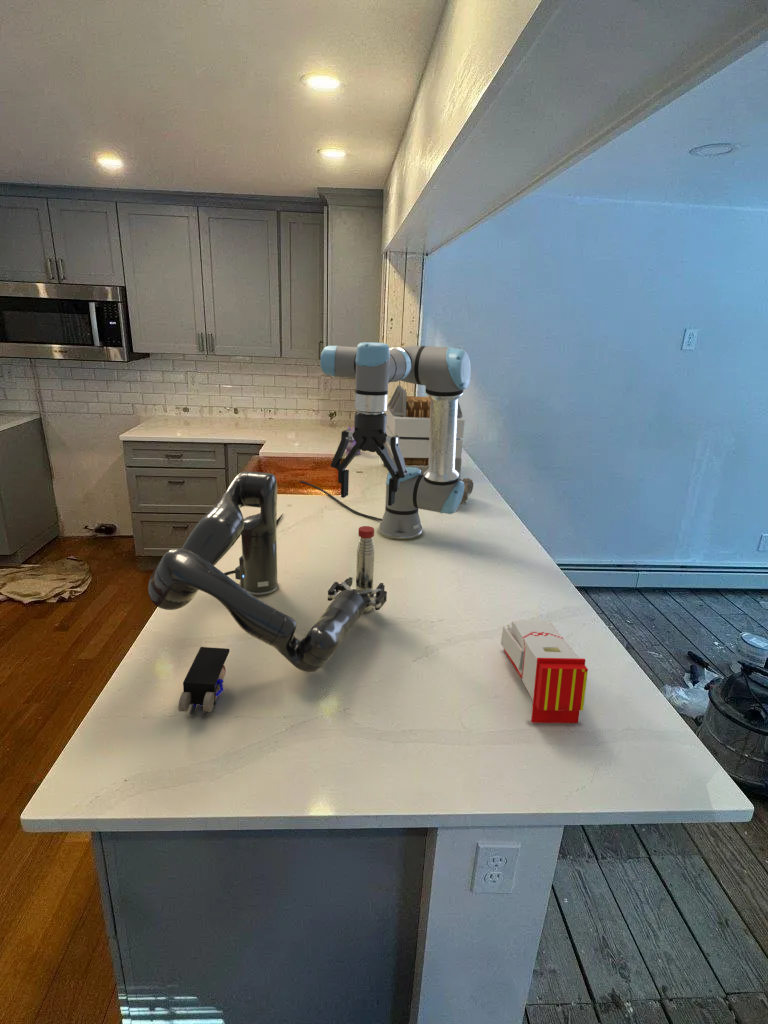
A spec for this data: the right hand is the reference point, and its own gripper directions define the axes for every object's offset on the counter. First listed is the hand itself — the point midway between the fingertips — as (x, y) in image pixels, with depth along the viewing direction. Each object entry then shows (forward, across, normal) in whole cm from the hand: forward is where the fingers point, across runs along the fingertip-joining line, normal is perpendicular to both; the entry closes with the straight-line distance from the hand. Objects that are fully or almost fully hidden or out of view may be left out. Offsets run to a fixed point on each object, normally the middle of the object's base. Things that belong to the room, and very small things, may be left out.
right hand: (367, 500), depth 139 cm
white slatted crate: (+30, +27, -132) cm, 138 cm away
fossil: (+30, 0, -97) cm, 101 cm away
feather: (+30, +54, -49) cm, 79 cm away
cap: (+8, 0, 0) cm, 8 cm away
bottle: (+30, 0, 0) cm, 30 cm away
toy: (+30, -46, +13) cm, 56 cm away
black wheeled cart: (+30, +14, +47) cm, 57 cm away
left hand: (+24, 0, -2) cm, 24 cm away
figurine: (+30, +70, -151) cm, 169 cm away
